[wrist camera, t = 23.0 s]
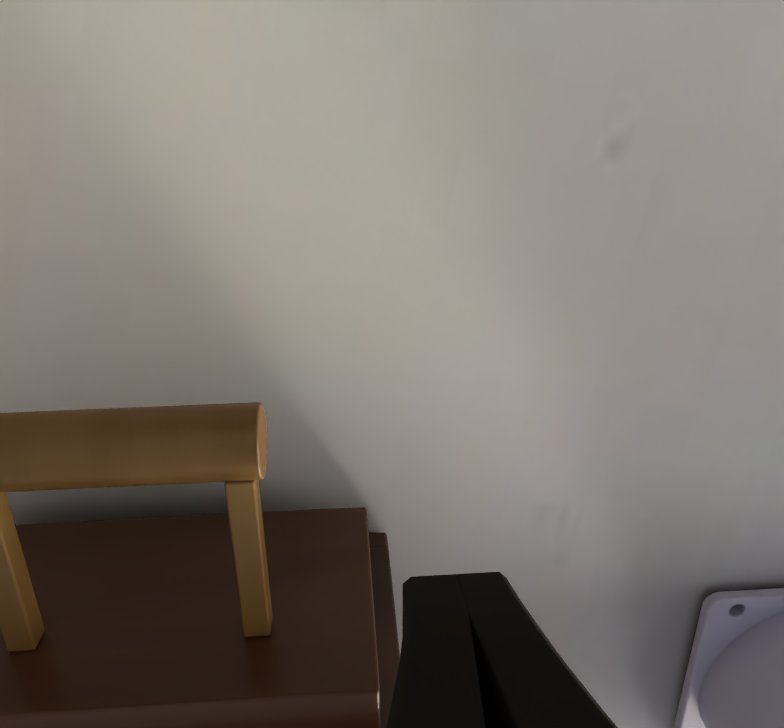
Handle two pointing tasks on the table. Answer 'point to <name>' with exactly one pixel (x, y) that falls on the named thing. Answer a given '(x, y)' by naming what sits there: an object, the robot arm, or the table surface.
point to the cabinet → (384, 622)
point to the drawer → (178, 584)
